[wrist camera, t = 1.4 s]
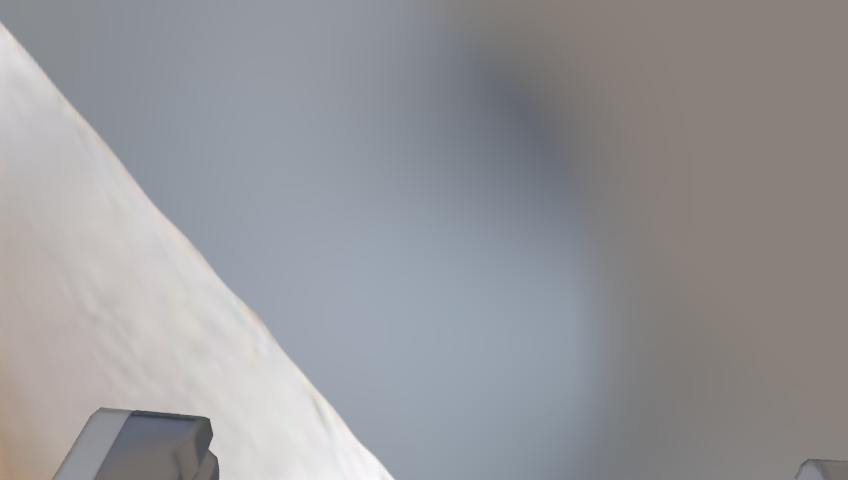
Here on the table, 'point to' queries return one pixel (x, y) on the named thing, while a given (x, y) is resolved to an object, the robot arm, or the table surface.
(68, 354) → the table surface
